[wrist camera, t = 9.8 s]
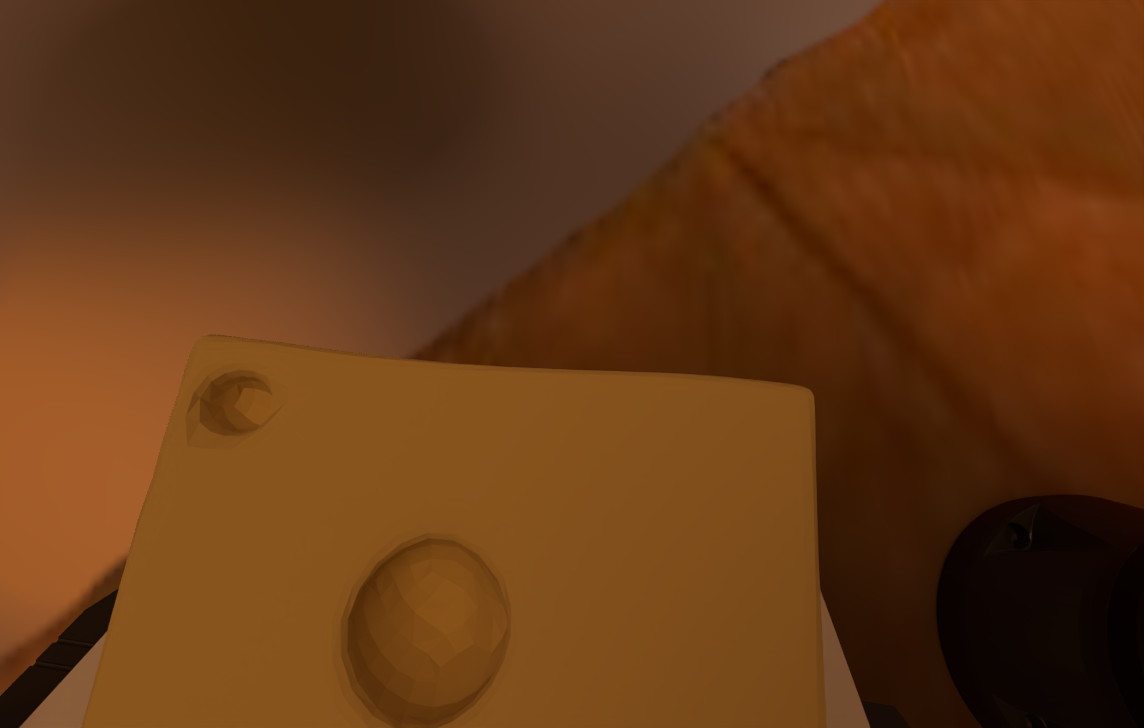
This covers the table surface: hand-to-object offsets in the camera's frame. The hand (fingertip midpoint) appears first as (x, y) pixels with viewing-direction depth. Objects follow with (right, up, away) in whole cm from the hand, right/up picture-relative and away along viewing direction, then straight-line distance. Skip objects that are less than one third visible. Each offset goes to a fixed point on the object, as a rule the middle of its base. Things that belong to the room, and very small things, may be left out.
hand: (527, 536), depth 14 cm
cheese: (0, -3, +4) cm, 5 cm away
